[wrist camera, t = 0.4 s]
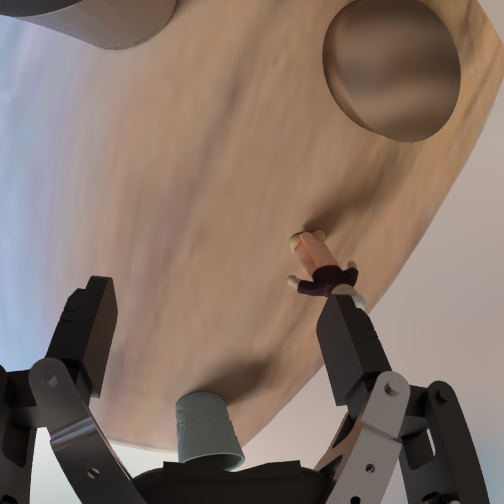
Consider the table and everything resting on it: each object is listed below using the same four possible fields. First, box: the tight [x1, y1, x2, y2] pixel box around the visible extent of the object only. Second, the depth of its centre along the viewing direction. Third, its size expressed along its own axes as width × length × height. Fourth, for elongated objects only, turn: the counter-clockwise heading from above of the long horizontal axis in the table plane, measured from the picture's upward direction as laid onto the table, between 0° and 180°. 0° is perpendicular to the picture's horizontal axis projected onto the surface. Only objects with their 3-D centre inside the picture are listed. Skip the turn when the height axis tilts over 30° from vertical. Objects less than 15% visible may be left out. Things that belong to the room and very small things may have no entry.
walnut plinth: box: [322, 0, 461, 142], centre depth 25 cm, size 16×16×4 cm
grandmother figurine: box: [287, 230, 365, 311], centre depth 31 cm, size 8×4×13 cm, turn 106°
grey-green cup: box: [176, 392, 245, 471], centre depth 44 cm, size 10×10×12 cm
